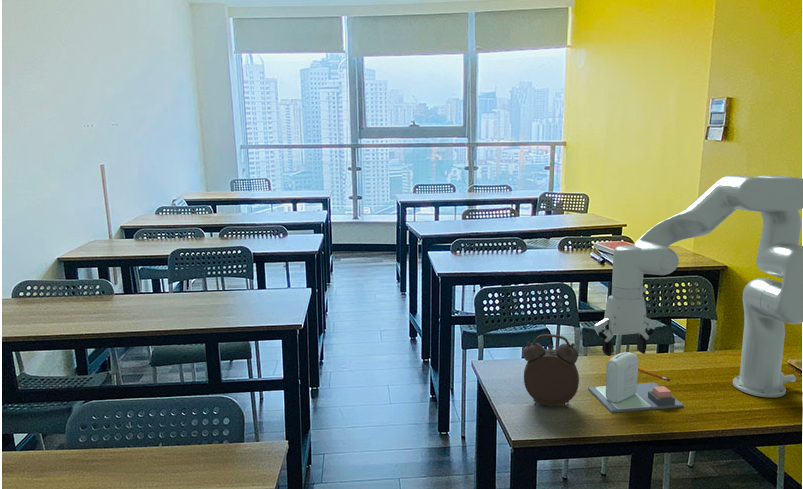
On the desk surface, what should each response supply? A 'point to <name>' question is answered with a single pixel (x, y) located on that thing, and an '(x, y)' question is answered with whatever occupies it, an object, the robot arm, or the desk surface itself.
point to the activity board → (636, 399)
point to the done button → (661, 392)
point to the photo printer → (621, 377)
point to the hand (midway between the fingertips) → (624, 353)
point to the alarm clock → (551, 372)
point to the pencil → (653, 374)
